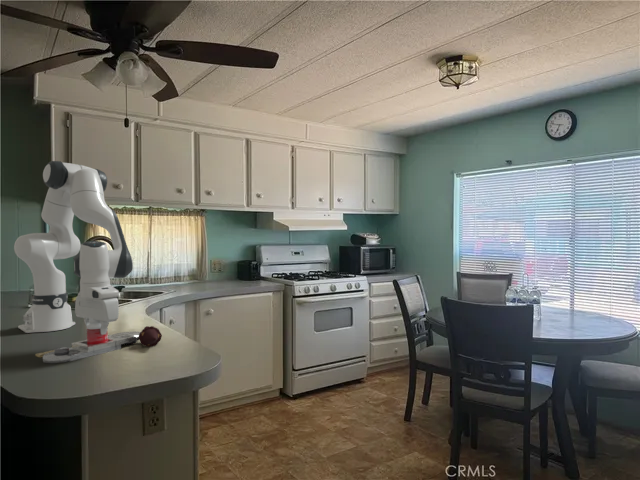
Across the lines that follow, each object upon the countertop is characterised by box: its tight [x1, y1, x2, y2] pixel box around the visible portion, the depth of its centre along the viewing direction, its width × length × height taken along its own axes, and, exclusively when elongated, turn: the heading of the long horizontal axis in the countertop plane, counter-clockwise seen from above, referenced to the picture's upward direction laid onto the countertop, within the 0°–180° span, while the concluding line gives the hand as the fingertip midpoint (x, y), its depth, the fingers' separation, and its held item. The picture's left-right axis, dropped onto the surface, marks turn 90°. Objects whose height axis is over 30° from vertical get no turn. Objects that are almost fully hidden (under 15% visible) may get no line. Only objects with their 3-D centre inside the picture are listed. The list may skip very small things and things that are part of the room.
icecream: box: [139, 325, 163, 348], centre depth 153 cm, size 7×7×15 cm
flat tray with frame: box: [42, 331, 141, 364], centre depth 148 cm, size 32×10×3 cm, turn 146°
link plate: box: [34, 349, 55, 359], centre depth 145 cm, size 8×3×1 cm, turn 144°
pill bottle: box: [86, 318, 109, 345], centre depth 148 cm, size 6×6×11 cm
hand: (96, 332), depth 148 cm, fingers open, 6 cm apart
